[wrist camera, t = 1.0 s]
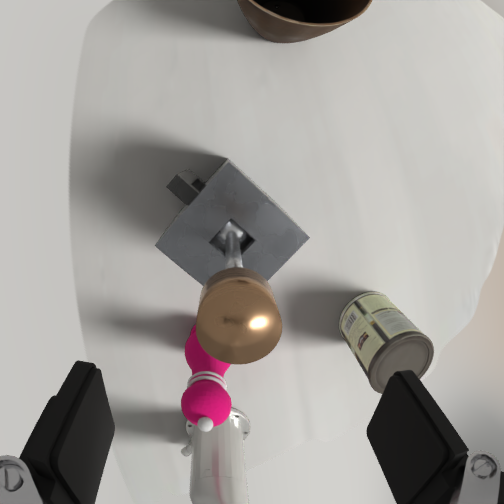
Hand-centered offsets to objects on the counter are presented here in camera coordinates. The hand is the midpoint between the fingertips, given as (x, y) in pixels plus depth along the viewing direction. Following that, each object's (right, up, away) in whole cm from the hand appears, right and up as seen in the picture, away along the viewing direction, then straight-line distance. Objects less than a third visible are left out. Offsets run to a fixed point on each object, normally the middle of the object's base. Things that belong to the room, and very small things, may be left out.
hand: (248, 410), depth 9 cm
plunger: (-2, +7, +22) cm, 23 cm away
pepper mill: (-7, -8, +41) cm, 42 cm away
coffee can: (+20, -6, +42) cm, 47 cm away
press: (-4, +12, +35) cm, 37 cm away
